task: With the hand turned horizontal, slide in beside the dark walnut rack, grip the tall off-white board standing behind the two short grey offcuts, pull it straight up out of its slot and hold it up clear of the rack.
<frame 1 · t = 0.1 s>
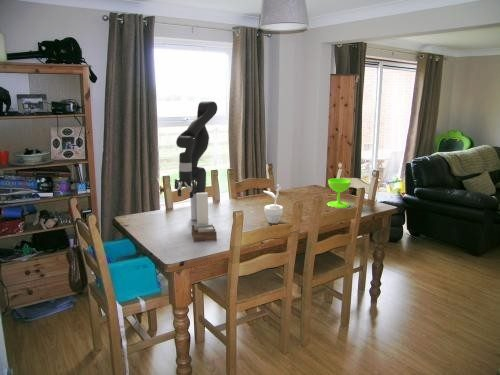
hand: (185, 197, 231), 17 cm above the table, tool pointing down, fingers open, 8 cm apart
offcut rack: (203, 236, 215), on the table
offcut stack: (204, 230, 212), point 4 cm above the table
wineglass: (338, 205, 278), on the table
potted plant: (272, 222, 241), on the table
tall board: (202, 230, 218), point 2 cm above the table, touching offcut rack
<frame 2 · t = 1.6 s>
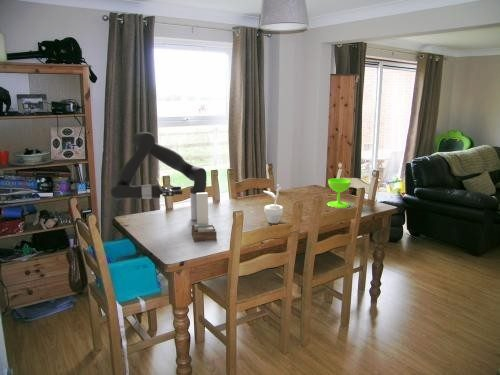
hand: (181, 190, 210), 26 cm above the table, tool horizontal, fingers open, 8 cm apart
nothing on the table moved.
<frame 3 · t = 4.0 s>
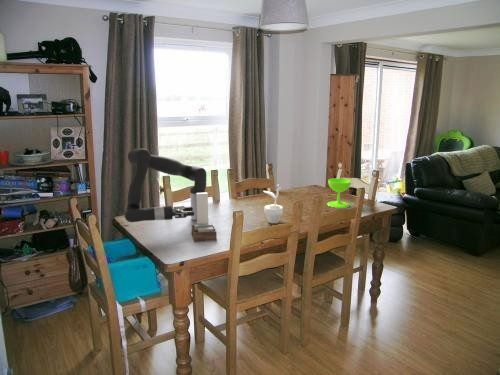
hand: (193, 211, 215), 14 cm above the table, tool horizontal, fingers open, 8 cm apart
nothing on the table moved.
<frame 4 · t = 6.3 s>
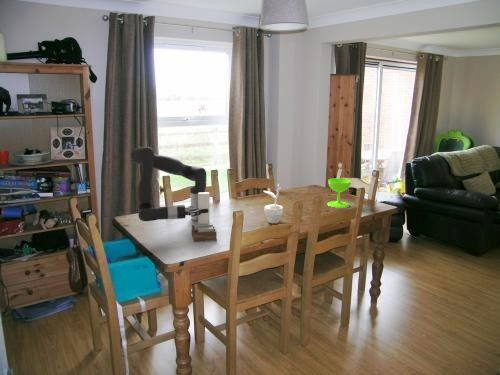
hand: (207, 209, 216), 14 cm above the table, tool horizontal, fingers closed on tall board, 2 cm apart
tall board: (203, 230, 218), point 2 cm above the table, touching gripper
everything else where it was.
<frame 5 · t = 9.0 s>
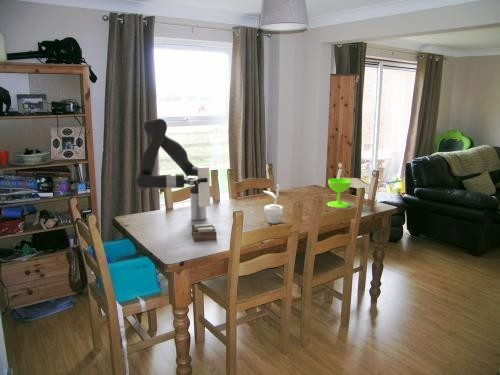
hand: (206, 179, 212), 32 cm above the table, tool horizontal, fingers closed on tall board
tall board: (204, 205, 215), point 17 cm above the table, touching gripper
everything else where it was.
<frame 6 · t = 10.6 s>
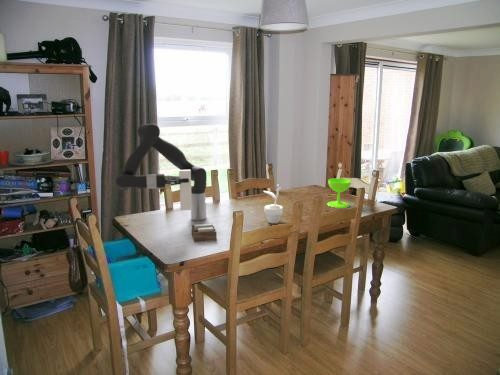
hand: (188, 179, 210), 32 cm above the table, tool horizontal, fingers closed on tall board
tall board: (186, 209, 213), point 15 cm above the table, touching gripper
everything else where it was.
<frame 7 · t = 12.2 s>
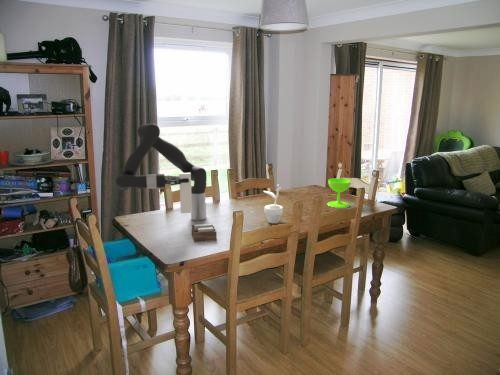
hand: (188, 179, 210), 32 cm above the table, tool horizontal, fingers closed on tall board
tall board: (186, 212, 214), point 14 cm above the table, touching gripper
everything else where it was.
at the end: tall board point 13.6 cm above the table; the gripper is holding tall board; tall board tilted 0° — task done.
